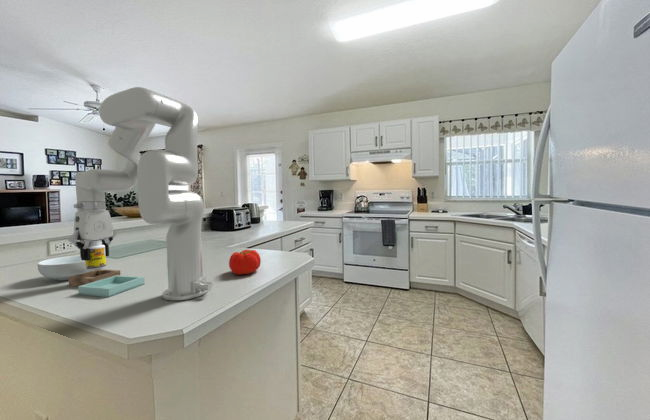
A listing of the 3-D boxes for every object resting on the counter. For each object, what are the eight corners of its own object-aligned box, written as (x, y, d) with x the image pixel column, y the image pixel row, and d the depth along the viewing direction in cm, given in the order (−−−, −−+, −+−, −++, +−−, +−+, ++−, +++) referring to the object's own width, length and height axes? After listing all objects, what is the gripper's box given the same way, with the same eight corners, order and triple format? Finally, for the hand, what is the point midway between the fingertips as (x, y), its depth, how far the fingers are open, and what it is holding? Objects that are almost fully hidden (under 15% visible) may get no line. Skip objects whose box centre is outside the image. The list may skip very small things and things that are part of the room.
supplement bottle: (84, 271, 91) (82, 242, 90) (87, 268, 95) (85, 240, 95) (105, 269, 94) (103, 240, 93) (107, 266, 99) (105, 238, 98)
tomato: (243, 267, 113) (243, 247, 112) (267, 270, 107) (266, 249, 107) (219, 275, 101) (219, 253, 101) (244, 279, 96) (243, 255, 95)
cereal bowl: (70, 284, 93) (69, 264, 93) (24, 284, 93) (22, 264, 93) (110, 270, 110) (110, 253, 110) (71, 271, 110) (70, 254, 110)
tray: (144, 284, 92) (144, 277, 92) (109, 297, 80) (108, 288, 80) (116, 282, 94) (116, 275, 94) (78, 294, 83) (78, 286, 83)
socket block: (120, 278, 99) (120, 270, 99) (91, 287, 89) (91, 278, 89) (99, 277, 101) (98, 269, 101) (68, 285, 91) (68, 277, 91)
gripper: (72, 207, 85) (76, 264, 85) (123, 205, 101) (127, 253, 102) (54, 208, 86) (58, 263, 87) (108, 206, 103) (111, 253, 104)
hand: (95, 257), depth 94 cm, fingers closed on supplement bottle, 5 cm apart
